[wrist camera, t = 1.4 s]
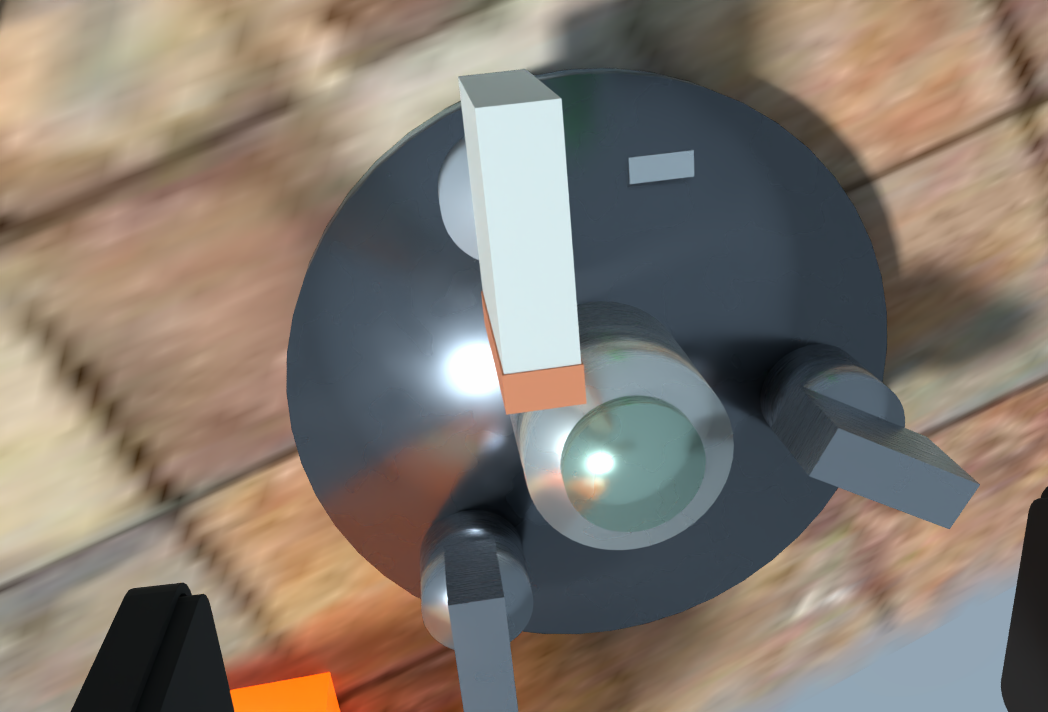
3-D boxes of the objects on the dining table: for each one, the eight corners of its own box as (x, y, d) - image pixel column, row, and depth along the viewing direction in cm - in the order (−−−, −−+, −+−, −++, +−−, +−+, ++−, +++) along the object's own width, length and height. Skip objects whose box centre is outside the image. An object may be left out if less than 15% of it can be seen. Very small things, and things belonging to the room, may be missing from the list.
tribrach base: (233, 105, 28) (179, 152, 21) (882, 34, 30) (1029, 56, 23) (345, 645, 36) (332, 807, 29) (854, 566, 37) (956, 703, 30)
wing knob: (421, 72, 27) (431, 113, 19) (548, 58, 27) (604, 93, 20) (452, 305, 29) (470, 419, 22) (566, 290, 30) (622, 398, 22)
